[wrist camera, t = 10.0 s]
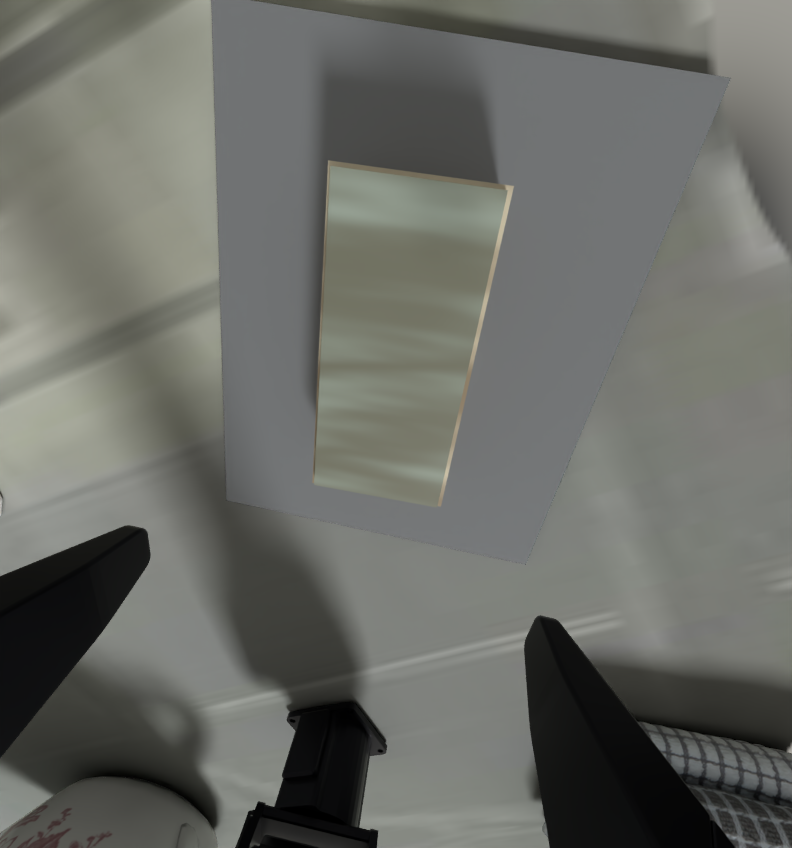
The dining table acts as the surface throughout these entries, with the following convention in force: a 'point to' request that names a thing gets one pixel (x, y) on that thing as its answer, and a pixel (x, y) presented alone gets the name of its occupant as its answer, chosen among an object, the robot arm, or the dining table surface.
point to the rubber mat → (516, 264)
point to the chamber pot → (112, 818)
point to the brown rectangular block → (400, 325)
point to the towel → (733, 784)
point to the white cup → (1, 505)
